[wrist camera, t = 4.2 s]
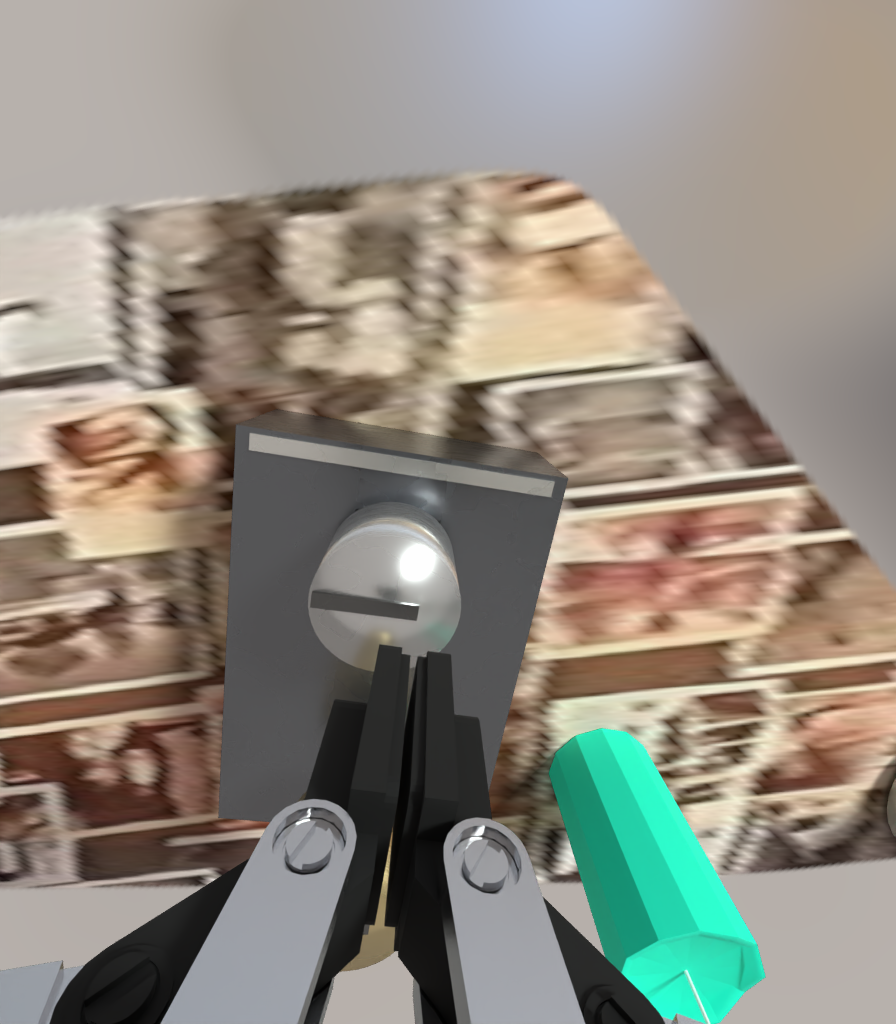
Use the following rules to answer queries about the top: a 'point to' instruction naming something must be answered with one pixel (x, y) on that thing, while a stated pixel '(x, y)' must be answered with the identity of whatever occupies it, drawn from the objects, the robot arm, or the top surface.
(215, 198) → the top surface
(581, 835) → the candle
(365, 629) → the knob
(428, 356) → the top surface
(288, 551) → the mount
